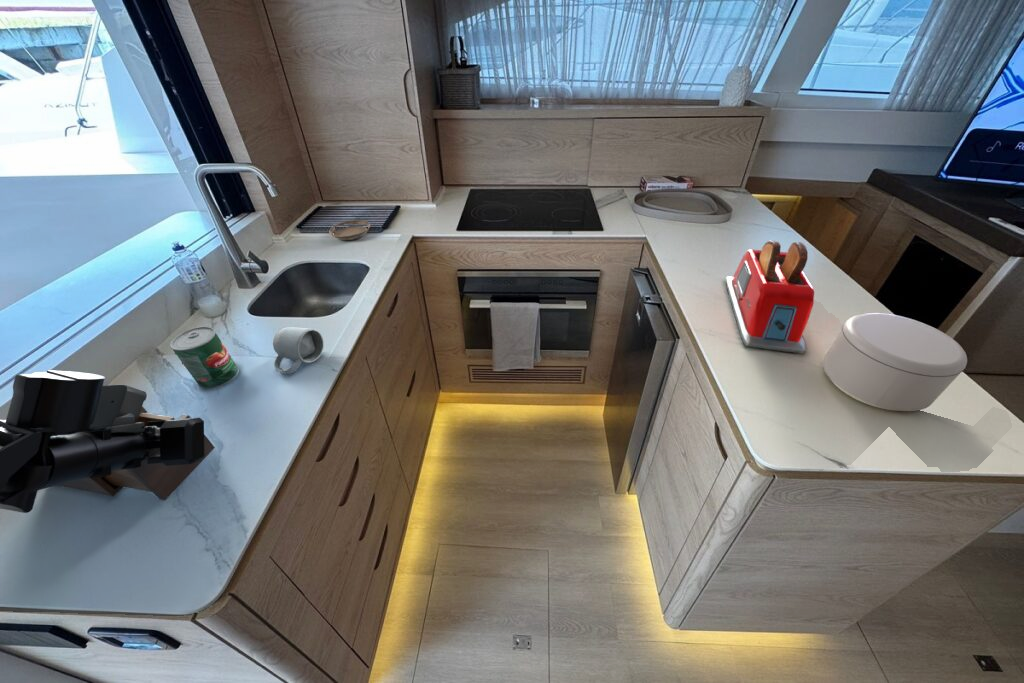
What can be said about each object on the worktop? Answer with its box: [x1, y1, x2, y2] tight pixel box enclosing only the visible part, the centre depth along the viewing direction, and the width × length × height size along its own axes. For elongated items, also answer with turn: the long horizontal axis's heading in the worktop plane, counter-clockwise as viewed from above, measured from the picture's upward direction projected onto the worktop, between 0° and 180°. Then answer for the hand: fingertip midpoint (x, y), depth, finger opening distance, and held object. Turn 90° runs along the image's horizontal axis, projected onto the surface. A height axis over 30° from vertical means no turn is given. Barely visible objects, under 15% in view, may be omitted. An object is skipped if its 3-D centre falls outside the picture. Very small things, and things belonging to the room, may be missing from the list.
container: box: [822, 312, 968, 412], centre depth 76 cm, size 18×18×12 cm
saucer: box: [328, 219, 371, 241], centre depth 147 cm, size 15×15×3 cm
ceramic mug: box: [272, 326, 325, 375], centre depth 88 cm, size 11×8×8 cm
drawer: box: [100, 412, 216, 501], centre depth 65 cm, size 17×10×9 cm, turn 79°
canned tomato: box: [169, 326, 240, 390], centre depth 84 cm, size 8×8×11 cm
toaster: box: [725, 240, 815, 354], centre depth 94 cm, size 32×13×19 cm, turn 164°
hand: (180, 435), depth 63 cm, fingers closed, pressing on drawer
